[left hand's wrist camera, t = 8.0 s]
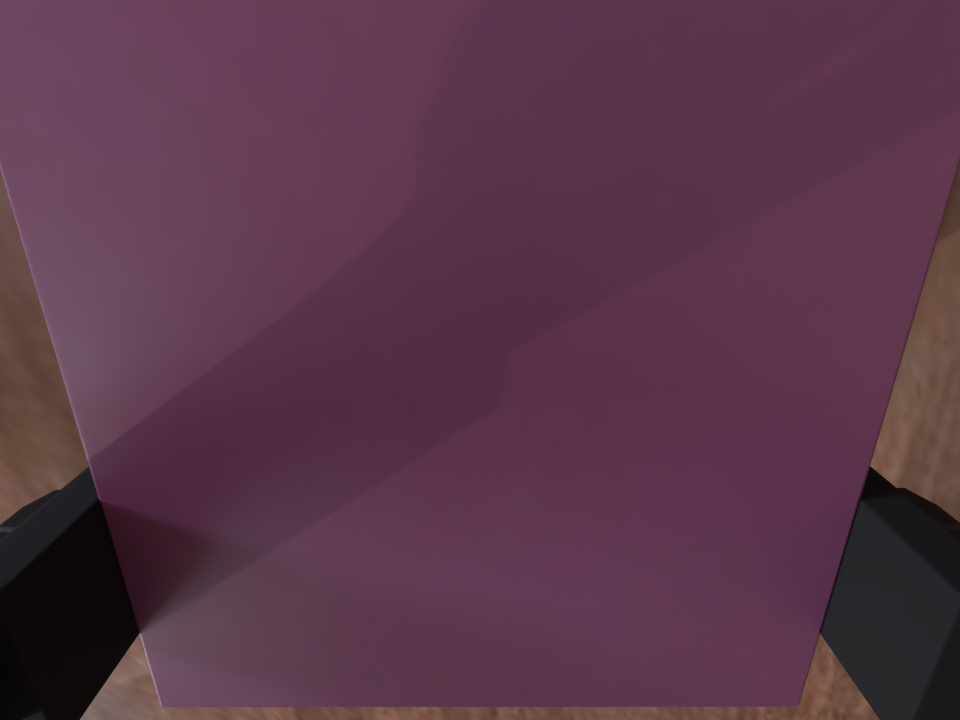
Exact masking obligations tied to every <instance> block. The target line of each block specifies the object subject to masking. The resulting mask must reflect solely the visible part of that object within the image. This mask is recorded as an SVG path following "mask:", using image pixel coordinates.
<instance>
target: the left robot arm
mask: <svg viewBox="0 0 960 720" xmlns="http://www.w3.org/2000/svg"><path fill="white" fill-rule="evenodd" d="M138 634H139V631H138V628H137V625H136V621H135V618H134V615H133V611H132V608H131V605H130V601H129V598H128V594H127V591H126V588H125V584H124V581H123V578H122V574H121V571H120V568H119V564H118V561H117V558H116V554H115V551H114V548H113V544H112V541H111V538H110V534H109V531H108V528H107V524H106V521H105V518H104V514H103V511H102V507H101V504H100V501H99V497H98V494H97V491H96V487H95V484H94V481H93V477H92V474H91V471H90V467H88V468H86V469H85V470H84V471H83V472H82V473H80V474H79V475H78V476H77V477H76V478H74V479H73V480H72V481H71V482H70V483H68V484H67V485H66V486H65V487H64V488H62V489H61V490H55V491H53V492H51V493H49V494H47V495H45V496H43V497H41V498H39V499H38V500H36V501H34V502H32V503H30V504H28V505H26V506H24V507H22V508H21V509H20V510H19V511H17V512H16V513H15V514H14V515H12V516H11V517H10V518H9V519H7V520H6V521H5V522H4V523H2V524H1V525H0V720H80V718H81V717H82V715H83V714H84V712H85V711H86V710H87V708H88V707H89V705H90V704H91V702H92V701H93V699H94V698H95V697H96V695H97V694H98V692H99V691H100V689H101V688H102V686H103V685H104V684H105V682H106V681H107V679H108V678H109V676H110V675H111V673H112V672H113V671H114V669H115V668H116V666H117V665H118V663H119V662H120V660H121V659H122V657H123V656H124V655H125V653H126V652H127V650H128V649H129V647H130V646H131V644H132V643H133V642H134V640H135V639H136V637H137V636H138ZM820 634H821V635H822V637H823V638H824V640H825V641H826V642H827V644H828V645H829V647H830V648H831V650H832V651H833V653H834V654H835V655H836V657H837V658H838V660H839V661H840V663H841V664H842V666H843V667H844V669H845V670H846V671H847V673H848V674H849V676H850V677H851V679H852V680H853V682H854V683H855V684H856V686H857V687H858V689H859V690H860V692H861V693H862V695H863V696H864V697H865V699H866V700H867V702H868V703H869V705H870V706H871V708H872V709H873V710H874V712H875V713H876V715H877V716H878V718H879V719H880V720H960V523H959V522H958V521H957V520H955V519H954V518H953V517H952V516H950V515H949V514H948V513H947V512H945V511H944V510H943V509H942V508H940V507H939V506H938V505H936V504H934V503H932V502H930V501H928V500H926V499H924V498H923V497H921V496H919V495H917V494H915V493H913V492H911V491H909V490H907V489H905V488H896V487H894V486H893V485H892V484H891V483H890V482H888V481H887V480H886V479H885V478H884V477H882V476H881V475H880V474H879V473H878V472H876V471H875V470H874V469H873V468H872V467H869V471H868V474H867V477H866V481H865V484H864V487H863V491H862V494H861V497H860V501H859V504H858V508H857V511H856V514H855V518H854V521H853V524H852V528H851V531H850V535H849V538H848V541H847V545H846V548H845V551H844V555H843V558H842V561H841V565H840V568H839V572H838V575H837V578H836V582H835V585H834V588H833V592H832V595H831V599H830V602H829V605H828V609H827V612H826V615H825V619H824V622H823V625H822V629H821V632H820Z"/></svg>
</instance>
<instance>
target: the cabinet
mask: <svg viewBox="0 0 960 720" xmlns="http://www.w3.org/2000/svg"><path fill="white" fill-rule="evenodd" d="M959 164H960V0H0V170H1V173H2V176H3V180H4V183H5V186H6V190H7V193H8V196H9V200H10V203H11V206H12V210H13V213H14V216H15V220H16V223H17V226H18V230H19V233H20V236H21V240H22V243H23V246H24V250H25V253H26V257H27V260H28V263H29V267H30V270H31V273H32V277H33V280H34V283H35V287H36V290H37V293H38V297H39V300H40V303H41V307H42V310H43V313H44V317H45V320H46V323H47V327H48V330H49V333H50V337H51V340H52V344H53V347H54V350H55V354H56V357H57V360H58V364H59V367H60V370H61V374H62V377H63V380H64V384H65V387H66V390H67V394H68V397H69V400H70V404H71V407H72V410H73V414H74V417H75V420H76V424H77V427H78V431H79V434H80V437H81V441H82V444H83V447H84V451H85V454H86V457H87V461H88V464H89V467H90V471H91V474H92V477H93V481H94V484H95V487H96V491H97V494H98V497H99V501H100V504H101V507H102V511H103V514H104V518H105V521H106V524H107V528H108V531H109V534H110V538H111V541H112V544H113V548H114V551H115V554H116V558H117V561H118V564H119V568H120V571H121V574H122V578H123V581H124V584H125V588H126V591H127V594H128V598H129V601H130V605H131V608H132V611H133V615H134V618H135V621H136V625H137V628H138V631H139V635H140V638H141V641H142V645H143V648H144V651H145V655H146V658H147V661H148V665H149V668H150V671H151V675H152V678H153V681H154V685H155V688H156V692H157V695H158V698H159V702H160V705H161V706H163V707H796V706H798V705H799V703H800V700H801V696H802V693H803V689H804V686H805V683H806V679H807V676H808V673H809V669H810V666H811V663H812V659H813V656H814V652H815V649H816V646H817V642H818V639H819V636H820V632H821V629H822V625H823V622H824V619H825V615H826V612H827V609H828V605H829V602H830V599H831V595H832V592H833V588H834V585H835V582H836V578H837V575H838V572H839V568H840V565H841V561H842V558H843V555H844V551H845V548H846V545H847V541H848V538H849V535H850V531H851V528H852V524H853V521H854V518H855V514H856V511H857V508H858V504H859V501H860V497H861V494H862V491H863V487H864V484H865V481H866V477H867V474H868V471H869V467H870V464H871V460H872V457H873V454H874V450H875V447H876V444H877V440H878V437H879V433H880V430H881V427H882V423H883V420H884V417H885V413H886V410H887V406H888V403H889V400H890V396H891V393H892V390H893V386H894V383H895V380H896V376H897V373H898V369H899V366H900V363H901V359H902V356H903V353H904V349H905V346H906V342H907V339H908V336H909V332H910V329H911V326H912V322H913V319H914V316H915V312H916V309H917V305H918V302H919V299H920V295H921V292H922V289H923V285H924V282H925V278H926V275H927V272H928V268H929V265H930V262H931V258H932V255H933V252H934V248H935V245H936V241H937V238H938V235H939V231H940V228H941V225H942V221H943V218H944V214H945V211H946V208H947V204H948V201H949V198H950V194H951V191H952V188H953V184H954V181H955V177H956V174H957V171H958V167H959Z"/></svg>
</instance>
